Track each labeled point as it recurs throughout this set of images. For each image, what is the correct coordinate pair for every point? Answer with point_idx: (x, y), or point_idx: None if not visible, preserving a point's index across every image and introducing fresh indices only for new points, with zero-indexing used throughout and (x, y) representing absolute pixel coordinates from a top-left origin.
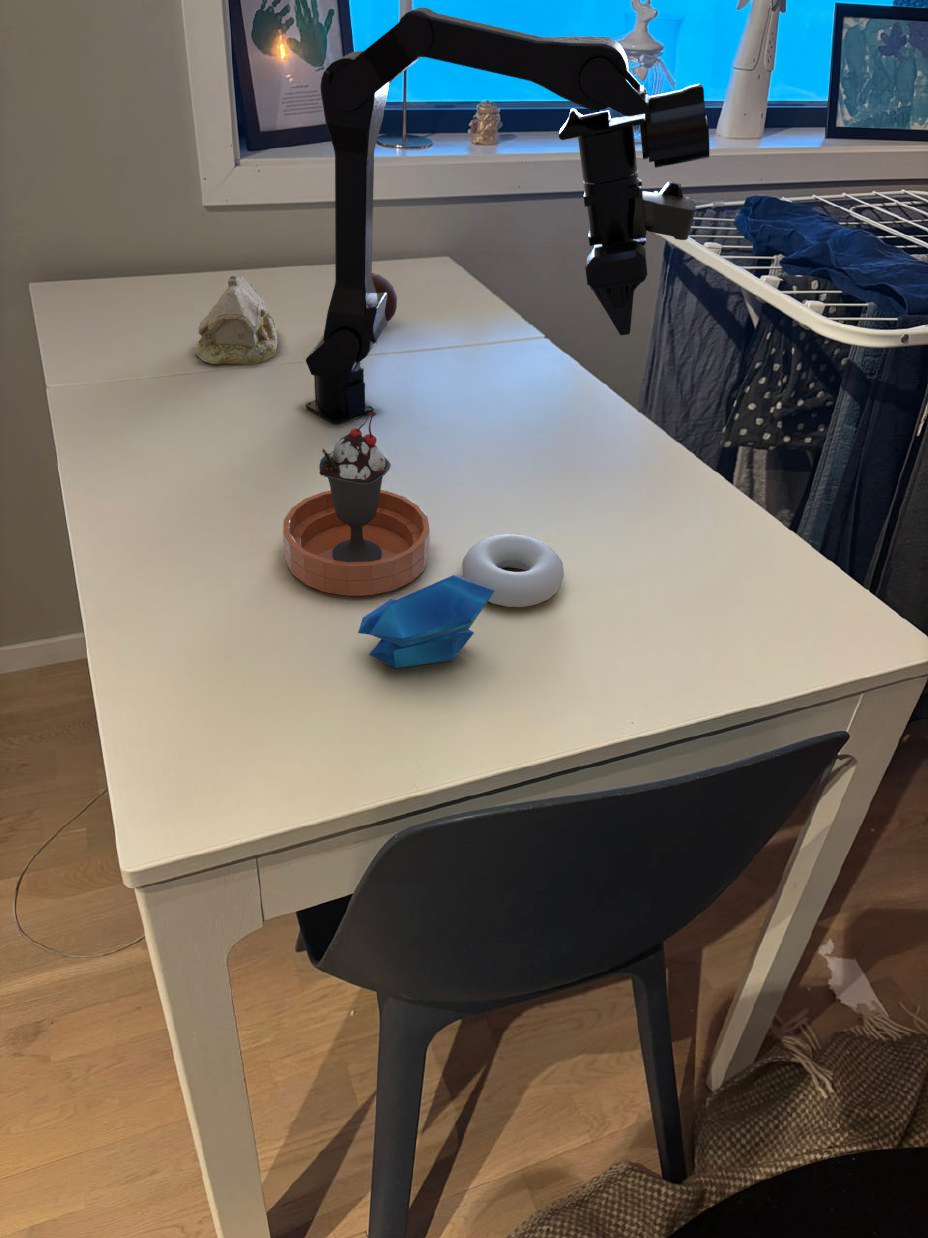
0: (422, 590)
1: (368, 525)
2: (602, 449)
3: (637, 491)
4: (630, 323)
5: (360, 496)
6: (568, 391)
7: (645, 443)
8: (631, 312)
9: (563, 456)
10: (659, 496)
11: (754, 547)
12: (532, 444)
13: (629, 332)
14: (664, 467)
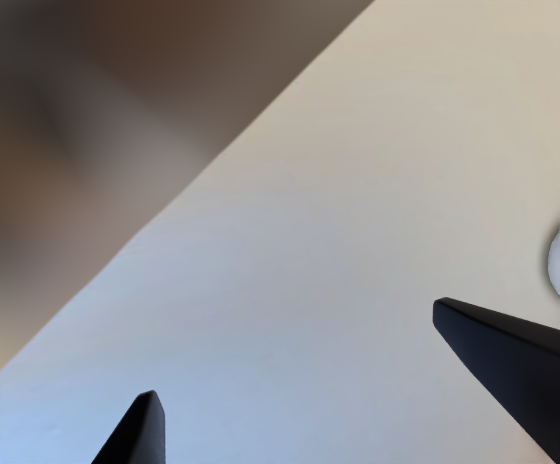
0: None
1: None
2: (279, 257)
3: (373, 182)
4: (489, 310)
5: None
6: (89, 376)
7: (228, 202)
8: (550, 328)
9: (323, 300)
10: (373, 152)
11: (442, 19)
12: (309, 350)
13: (451, 298)
14: (292, 159)
